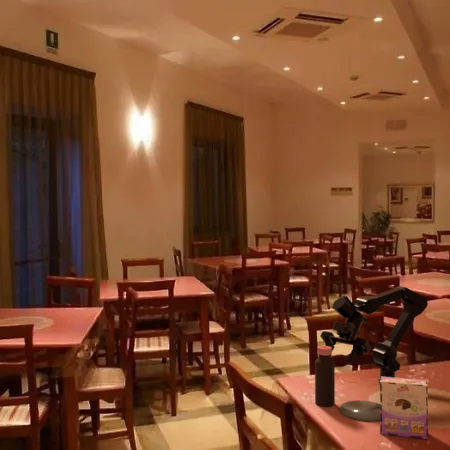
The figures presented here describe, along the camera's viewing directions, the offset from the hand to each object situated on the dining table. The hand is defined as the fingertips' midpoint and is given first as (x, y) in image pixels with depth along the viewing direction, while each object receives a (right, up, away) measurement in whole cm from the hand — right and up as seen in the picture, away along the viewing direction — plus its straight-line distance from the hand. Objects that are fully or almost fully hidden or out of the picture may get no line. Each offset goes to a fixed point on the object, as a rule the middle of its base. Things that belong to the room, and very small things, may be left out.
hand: (336, 360), depth 194 cm
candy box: (+14, -15, -30) cm, 37 cm away
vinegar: (-5, -14, -5) cm, 16 cm away
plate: (+7, -14, -13) cm, 20 cm away
